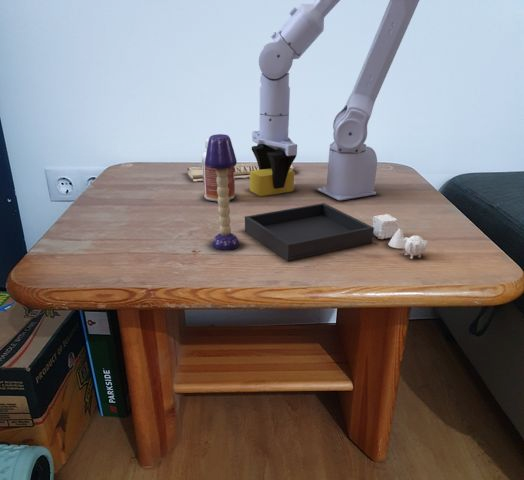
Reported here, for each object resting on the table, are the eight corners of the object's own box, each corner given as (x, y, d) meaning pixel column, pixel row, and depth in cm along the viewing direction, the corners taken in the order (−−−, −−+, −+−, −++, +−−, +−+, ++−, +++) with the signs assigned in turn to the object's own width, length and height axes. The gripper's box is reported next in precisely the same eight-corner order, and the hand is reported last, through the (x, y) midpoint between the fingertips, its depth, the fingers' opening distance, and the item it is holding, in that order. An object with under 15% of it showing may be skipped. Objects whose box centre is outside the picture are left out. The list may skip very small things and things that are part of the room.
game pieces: (369, 234, 90) (372, 215, 88) (386, 231, 91) (389, 213, 89) (409, 261, 81) (413, 241, 79) (428, 258, 82) (431, 238, 80)
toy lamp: (227, 253, 82) (224, 140, 73) (203, 247, 85) (197, 136, 75) (244, 243, 86) (243, 134, 77) (220, 237, 88) (217, 131, 79)
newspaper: (284, 166, 127) (284, 158, 126) (295, 174, 122) (295, 166, 121) (187, 173, 121) (186, 165, 120) (193, 181, 115) (193, 173, 114)
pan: (323, 216, 97) (324, 202, 96) (372, 242, 87) (374, 227, 86) (244, 231, 91) (244, 216, 89) (287, 261, 80) (288, 244, 79)
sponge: (282, 185, 114) (283, 166, 112) (293, 191, 111) (294, 171, 108) (249, 190, 111) (249, 170, 108) (260, 196, 107) (260, 176, 105)
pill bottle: (240, 199, 105) (240, 140, 99) (213, 204, 102) (211, 144, 96) (225, 191, 110) (223, 134, 104) (198, 196, 107) (195, 138, 101)
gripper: (238, 109, 106) (239, 178, 114) (275, 121, 96) (273, 196, 103) (269, 107, 109) (268, 174, 117) (308, 118, 99) (303, 191, 106)
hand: (272, 184), depth 110 cm, fingers closed on sponge, 4 cm apart
